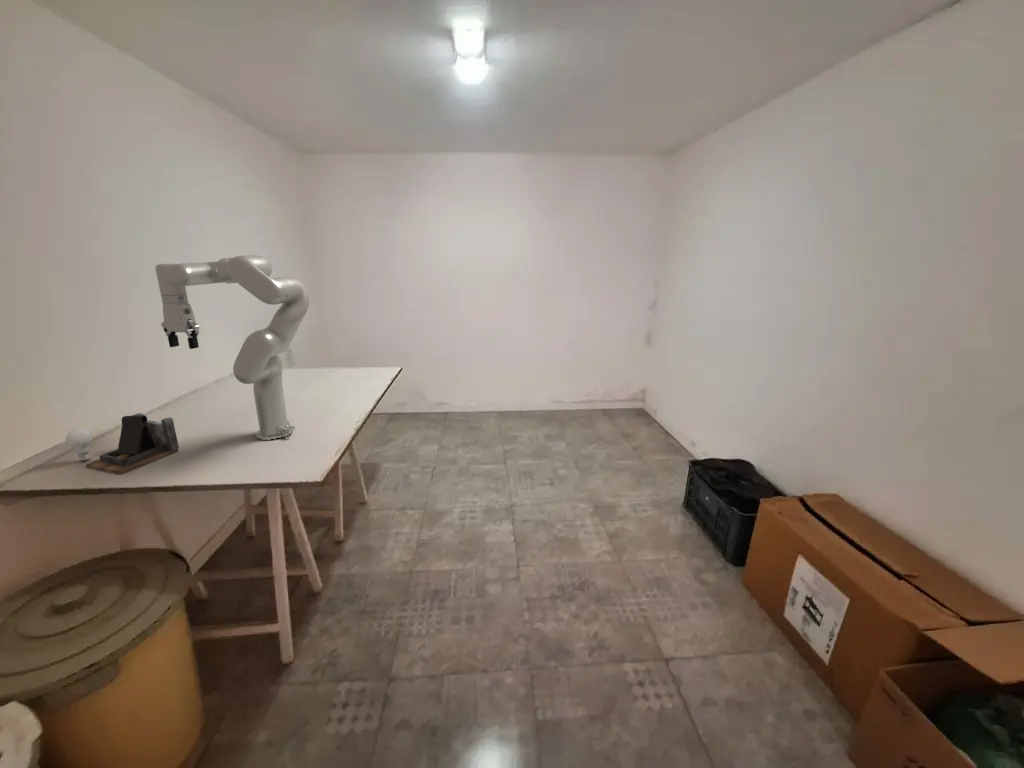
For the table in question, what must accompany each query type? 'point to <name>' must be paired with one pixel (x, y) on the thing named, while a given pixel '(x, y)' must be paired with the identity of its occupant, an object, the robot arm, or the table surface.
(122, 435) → the phone stand
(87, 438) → the lightbulb
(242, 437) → the table surface
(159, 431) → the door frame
